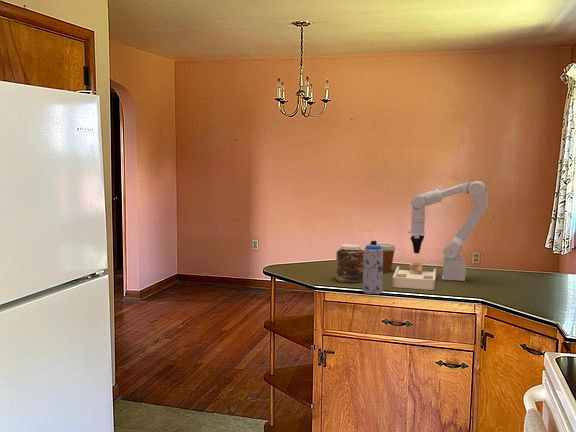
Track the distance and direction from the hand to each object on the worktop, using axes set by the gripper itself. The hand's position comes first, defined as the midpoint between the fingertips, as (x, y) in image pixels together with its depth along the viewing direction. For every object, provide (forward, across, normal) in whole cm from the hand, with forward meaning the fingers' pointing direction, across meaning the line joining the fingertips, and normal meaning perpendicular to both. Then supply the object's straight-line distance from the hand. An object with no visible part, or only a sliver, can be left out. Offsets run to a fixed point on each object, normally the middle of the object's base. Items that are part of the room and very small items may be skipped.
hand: (416, 252), depth 238 cm
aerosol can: (+11, +36, -15) cm, 41 cm away
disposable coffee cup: (+11, -5, -15) cm, 19 cm away
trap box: (+10, +14, 0) cm, 18 cm away
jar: (+11, +18, -27) cm, 34 cm away
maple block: (+8, +8, 0) cm, 11 cm away
